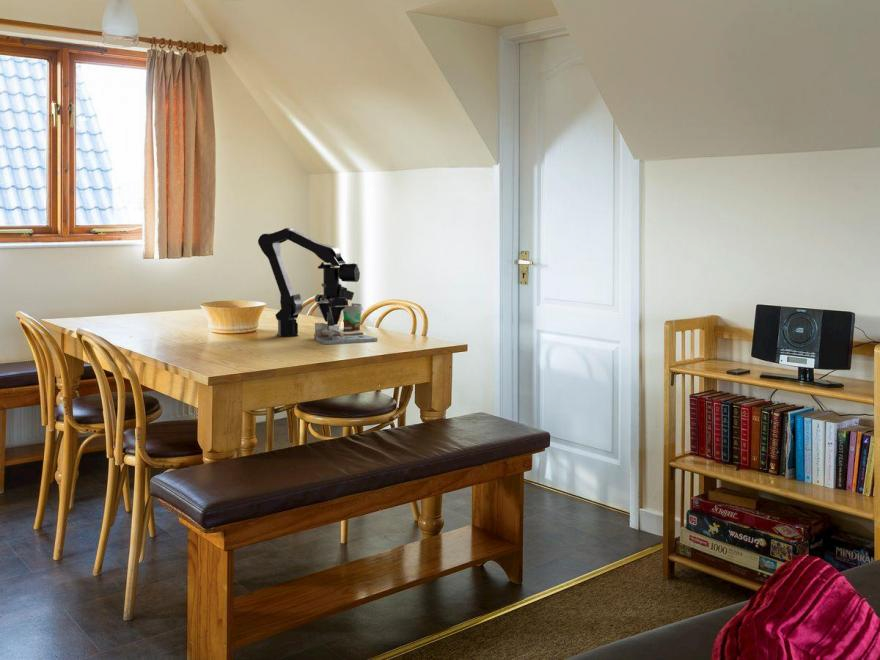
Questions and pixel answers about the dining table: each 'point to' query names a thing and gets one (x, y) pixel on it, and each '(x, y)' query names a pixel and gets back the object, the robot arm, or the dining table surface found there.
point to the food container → (352, 317)
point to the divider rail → (322, 331)
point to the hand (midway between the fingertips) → (331, 323)
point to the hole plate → (346, 339)
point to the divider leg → (333, 325)
